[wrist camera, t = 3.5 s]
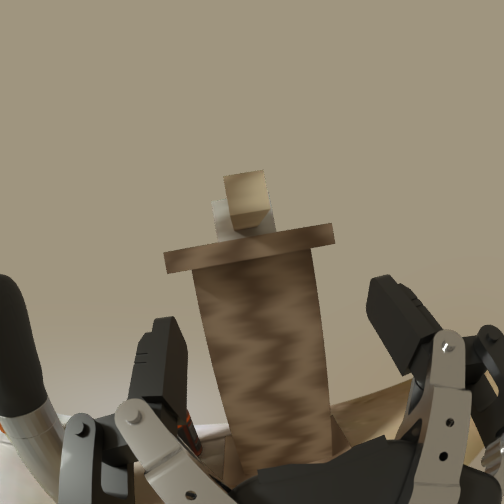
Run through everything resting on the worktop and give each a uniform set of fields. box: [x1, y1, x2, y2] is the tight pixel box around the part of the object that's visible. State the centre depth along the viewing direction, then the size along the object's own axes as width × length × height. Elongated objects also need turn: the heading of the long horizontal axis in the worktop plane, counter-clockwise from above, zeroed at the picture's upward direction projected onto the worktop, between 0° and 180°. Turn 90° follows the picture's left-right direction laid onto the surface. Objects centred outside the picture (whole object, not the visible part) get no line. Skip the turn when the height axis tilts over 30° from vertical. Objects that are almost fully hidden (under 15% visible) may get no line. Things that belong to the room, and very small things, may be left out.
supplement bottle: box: [177, 410, 202, 456], centre depth 34 cm, size 6×6×11 cm
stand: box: [164, 223, 351, 489], centre depth 31 cm, size 18×12×32 cm, turn 93°
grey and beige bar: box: [211, 170, 276, 242], centre depth 25 cm, size 6×19×4 cm, turn 3°
